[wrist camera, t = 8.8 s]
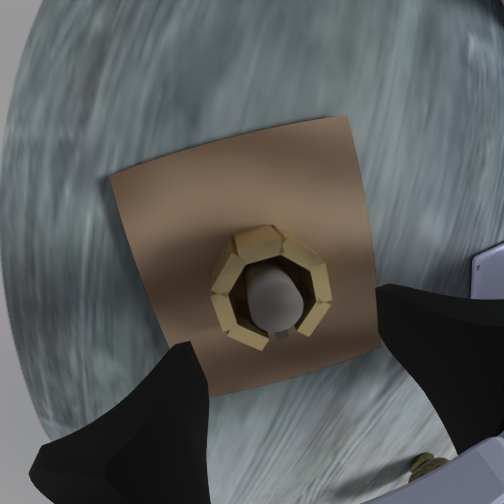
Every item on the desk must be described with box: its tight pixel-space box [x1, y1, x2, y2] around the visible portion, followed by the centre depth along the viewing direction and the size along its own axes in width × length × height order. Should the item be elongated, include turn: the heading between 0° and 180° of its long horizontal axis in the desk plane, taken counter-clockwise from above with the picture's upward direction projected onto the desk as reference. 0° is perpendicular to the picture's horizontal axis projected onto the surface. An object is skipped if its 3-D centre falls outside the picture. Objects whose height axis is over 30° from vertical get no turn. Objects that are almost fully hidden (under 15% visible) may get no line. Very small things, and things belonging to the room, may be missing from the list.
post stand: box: [109, 115, 381, 397], centre depth 16 cm, size 16×14×6 cm
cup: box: [408, 453, 449, 483], centre depth 24 cm, size 8×7×8 cm
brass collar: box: [210, 224, 332, 351], centre depth 16 cm, size 6×6×4 cm
